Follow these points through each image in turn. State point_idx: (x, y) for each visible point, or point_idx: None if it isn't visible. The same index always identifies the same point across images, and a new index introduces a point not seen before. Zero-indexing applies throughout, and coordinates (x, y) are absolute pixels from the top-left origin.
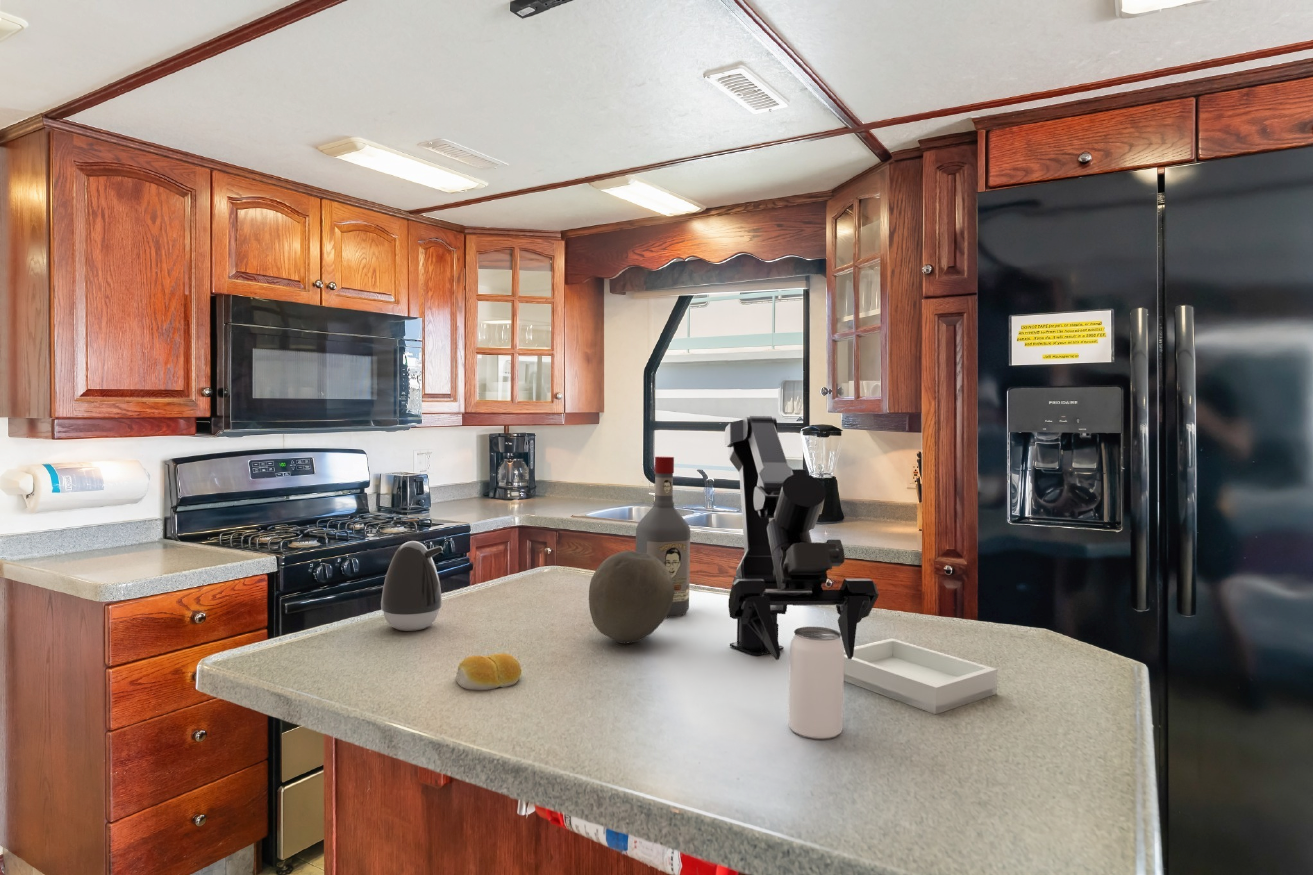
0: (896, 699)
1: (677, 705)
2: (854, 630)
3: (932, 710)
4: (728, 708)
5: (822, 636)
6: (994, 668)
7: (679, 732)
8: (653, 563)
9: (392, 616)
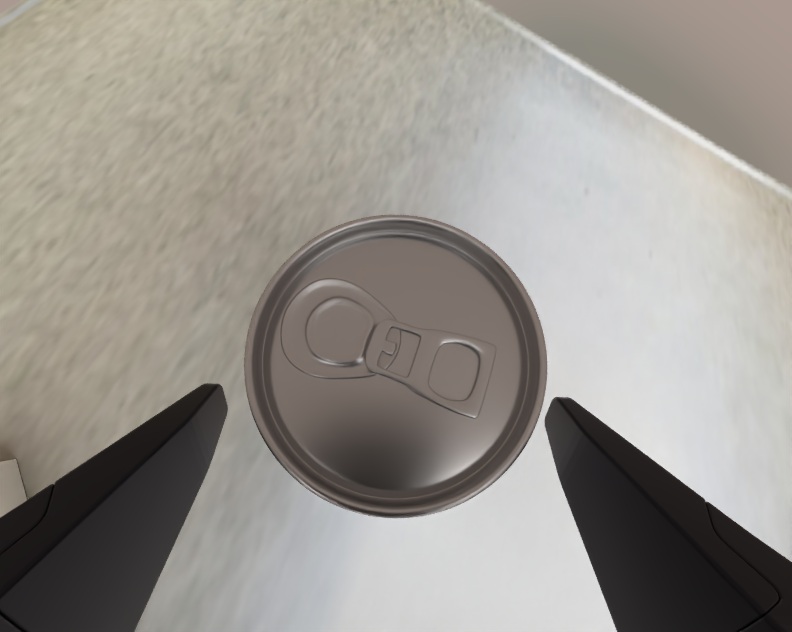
0: None
1: None
2: (75, 476)
3: (10, 470)
4: (572, 552)
5: (375, 324)
6: None
7: (693, 398)
8: None
9: None
